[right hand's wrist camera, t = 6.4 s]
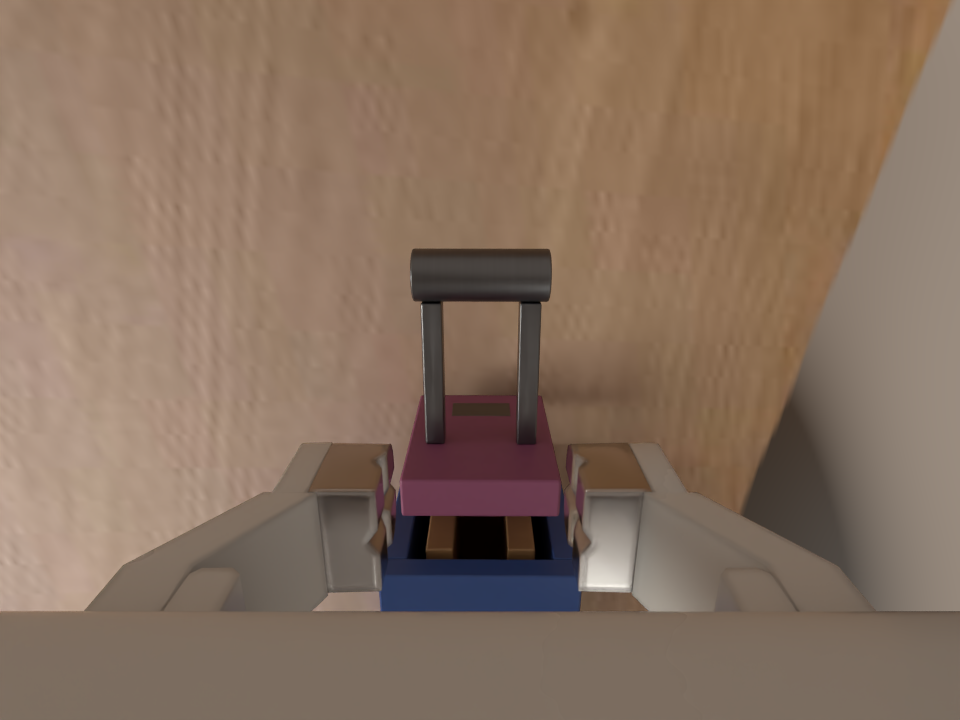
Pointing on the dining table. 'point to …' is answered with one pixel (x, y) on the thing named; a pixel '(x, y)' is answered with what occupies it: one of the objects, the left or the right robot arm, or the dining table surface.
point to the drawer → (480, 415)
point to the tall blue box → (479, 573)
